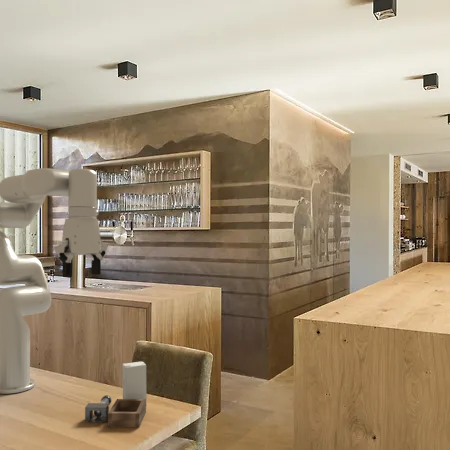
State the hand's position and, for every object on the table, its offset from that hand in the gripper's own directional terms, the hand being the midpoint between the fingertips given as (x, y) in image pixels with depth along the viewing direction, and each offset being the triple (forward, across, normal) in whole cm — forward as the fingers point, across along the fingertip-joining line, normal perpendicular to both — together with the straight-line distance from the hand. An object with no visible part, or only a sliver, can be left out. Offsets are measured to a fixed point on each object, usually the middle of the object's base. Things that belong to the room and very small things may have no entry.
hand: (82, 275), depth 132 cm
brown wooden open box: (+37, -3, +15) cm, 40 cm away
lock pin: (+37, -3, +5) cm, 38 cm away
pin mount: (+37, +2, +8) cm, 38 cm away
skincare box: (+38, -11, +10) cm, 40 cm away
